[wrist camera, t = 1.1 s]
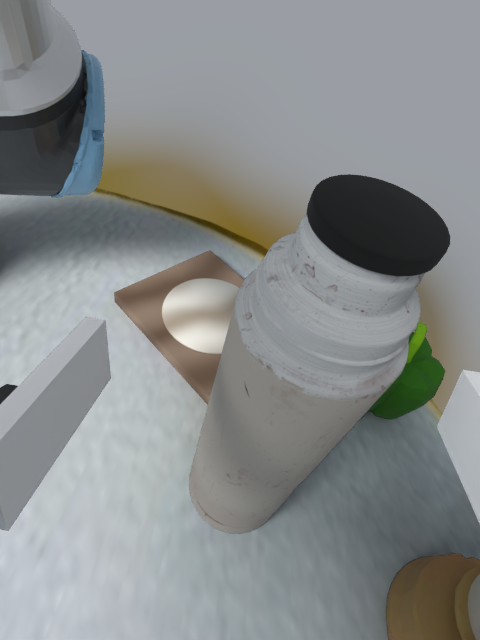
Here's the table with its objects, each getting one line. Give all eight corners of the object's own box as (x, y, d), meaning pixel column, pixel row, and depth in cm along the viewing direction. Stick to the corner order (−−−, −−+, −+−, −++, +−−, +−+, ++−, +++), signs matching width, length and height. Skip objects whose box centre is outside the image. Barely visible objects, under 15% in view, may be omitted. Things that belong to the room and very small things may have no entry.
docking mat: (114, 301, 45) (114, 291, 43) (208, 258, 52) (210, 248, 51) (212, 409, 38) (214, 401, 37) (302, 342, 46) (307, 333, 45)
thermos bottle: (170, 472, 34) (217, 169, 13) (240, 423, 38) (363, 134, 17) (227, 557, 30) (416, 335, 10) (297, 493, 35) (535, 241, 14)
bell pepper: (379, 447, 39) (436, 397, 32) (320, 387, 42) (358, 329, 35) (422, 404, 43) (480, 351, 36) (365, 352, 47) (408, 294, 39)
